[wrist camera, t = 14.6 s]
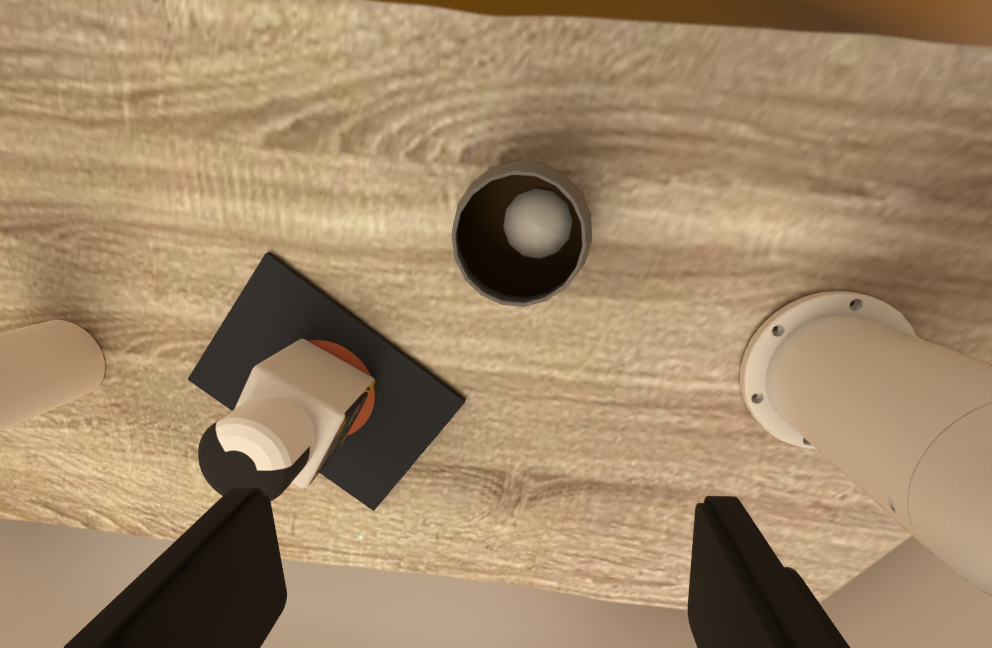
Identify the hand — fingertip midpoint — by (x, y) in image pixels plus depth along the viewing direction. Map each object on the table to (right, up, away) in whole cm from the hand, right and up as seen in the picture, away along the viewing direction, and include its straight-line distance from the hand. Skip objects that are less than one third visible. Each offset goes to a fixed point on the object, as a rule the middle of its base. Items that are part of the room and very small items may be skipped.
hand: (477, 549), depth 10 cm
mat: (-14, -1, +31) cm, 34 cm away
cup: (+3, +12, +26) cm, 29 cm away
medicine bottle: (-14, -1, +30) cm, 34 cm away
